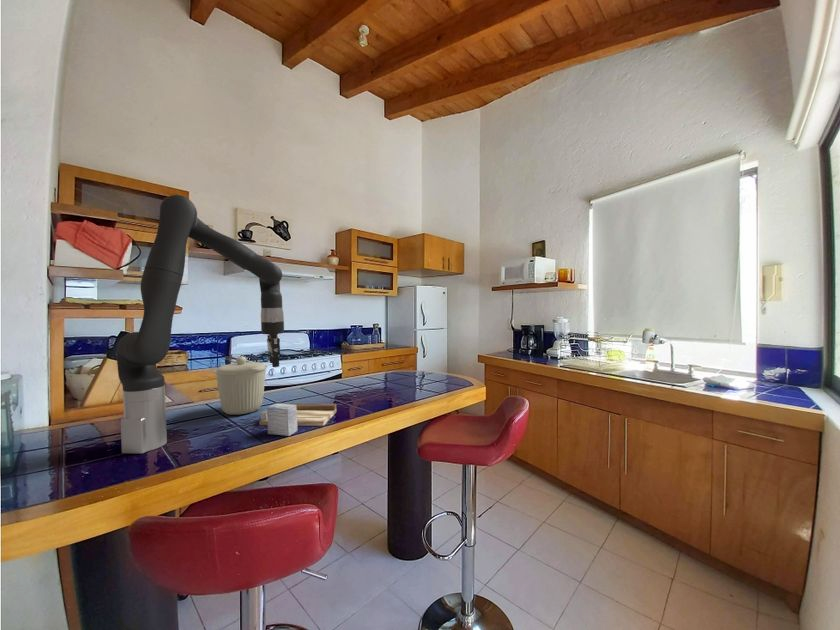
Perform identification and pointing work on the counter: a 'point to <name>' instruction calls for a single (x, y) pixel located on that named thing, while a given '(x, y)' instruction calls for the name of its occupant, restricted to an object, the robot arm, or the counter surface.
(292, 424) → the medicine box
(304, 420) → the maple board
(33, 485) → the counter surface
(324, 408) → the walnut fence
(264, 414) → the end stop
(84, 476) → the counter surface
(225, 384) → the canister
